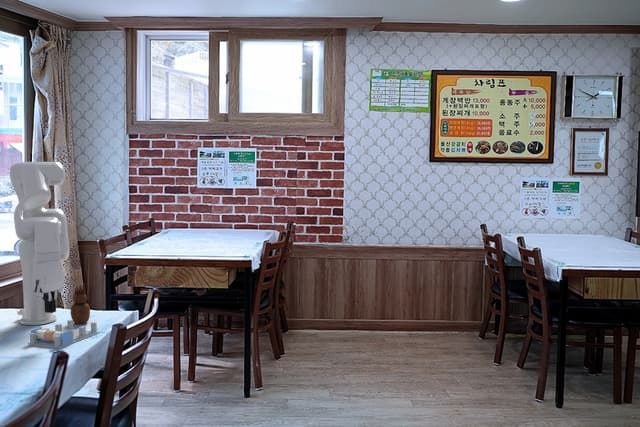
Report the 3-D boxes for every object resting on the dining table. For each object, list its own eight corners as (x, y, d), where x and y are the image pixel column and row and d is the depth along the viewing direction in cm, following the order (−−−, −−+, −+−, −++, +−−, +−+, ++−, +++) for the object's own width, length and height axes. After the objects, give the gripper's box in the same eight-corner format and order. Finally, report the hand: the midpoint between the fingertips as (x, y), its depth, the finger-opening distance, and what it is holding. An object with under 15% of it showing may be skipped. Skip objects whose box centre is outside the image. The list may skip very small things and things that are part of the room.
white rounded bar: (35, 341, 216) (34, 331, 216) (43, 337, 219) (42, 327, 219) (61, 344, 212) (60, 333, 212) (69, 340, 216) (68, 330, 215)
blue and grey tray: (28, 344, 215) (27, 331, 214) (68, 330, 233) (67, 317, 232) (60, 348, 210) (59, 334, 210) (98, 333, 228) (98, 320, 228)
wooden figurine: (93, 321, 244) (91, 282, 243) (83, 325, 238) (81, 285, 237) (78, 320, 246) (77, 281, 245) (68, 324, 241) (66, 284, 239)
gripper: (55, 253, 221) (57, 306, 223) (21, 260, 207) (24, 316, 209) (73, 254, 219) (75, 308, 220) (40, 261, 205) (42, 318, 206)
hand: (50, 312), depth 215 cm, fingers closed
